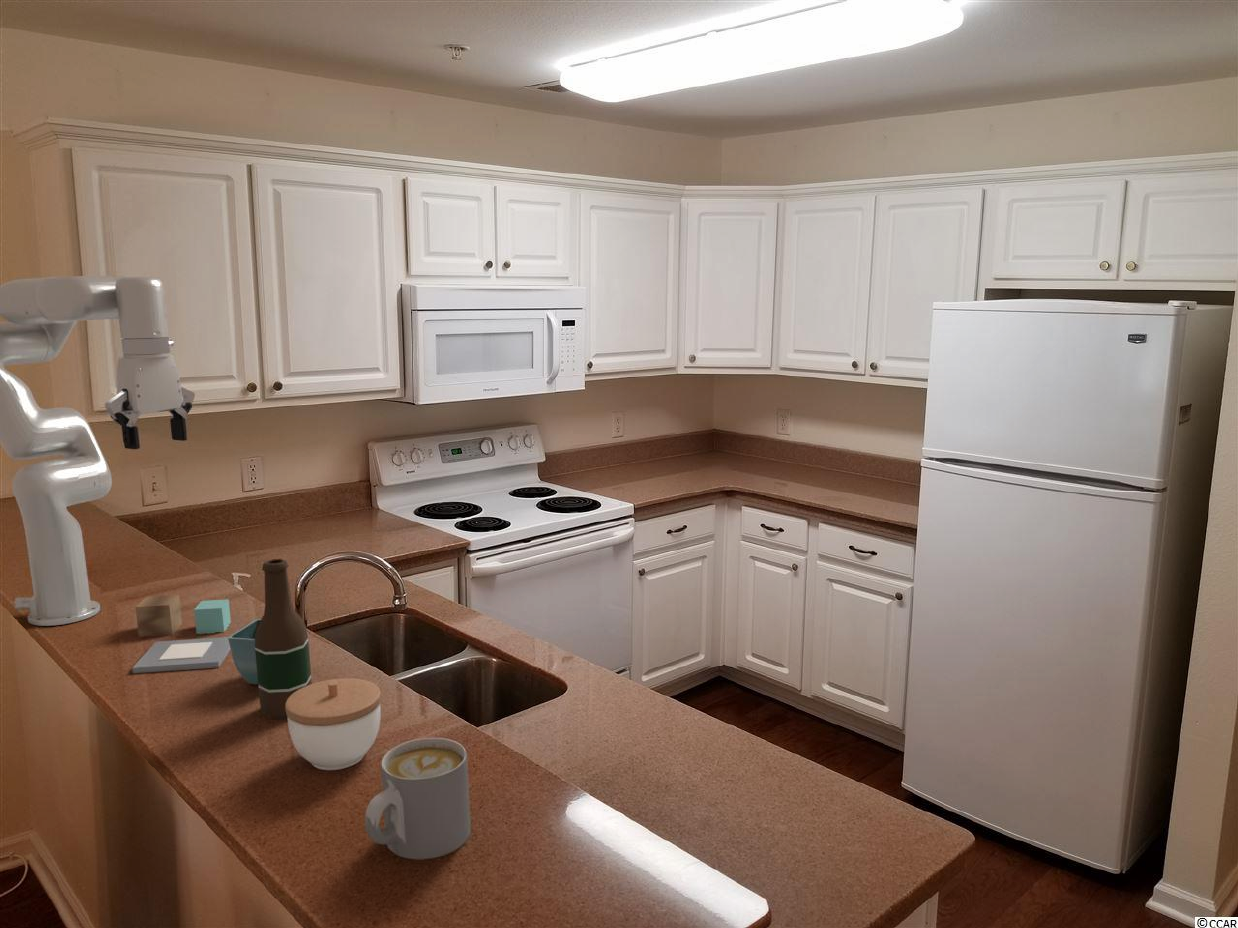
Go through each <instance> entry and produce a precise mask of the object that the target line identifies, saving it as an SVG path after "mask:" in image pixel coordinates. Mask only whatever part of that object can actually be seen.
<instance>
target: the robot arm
mask: <svg viewBox="0 0 1238 928" xmlns="http://www.w3.org/2000/svg"><path fill="white" fill-rule="evenodd" d="M0 317H1V318H3V319H4V320H6V321H0V445H1V446H2V448H3V451H4V452H5V453H6V455H7V456H9V458H11V459H13V460H17V461H28V460H34V459H36V460H37V459H40V458H49V457H53V456H59V455H62V458H57V459H56V458H55V459H50V460H45V461H44V460H43V461H40V462H35V463H32V464H27V465H26V466H24V467H22V468H20V470H18V471H17V472H16V473H15V474H14V477H13V479H12V490H13V492H12V493H13V495H14V497H15V499H16V500H15V501H16V503H17V505H18V508H19V511H20V516H21V518H22V524H23V528H24V532H25V541H26V542H25V543H26V546H27V555H28V562H29V570H30V577H31V583H32V584H31V585H32V590H33V595H32V596H31V597H16V598H14V602H13V605H14V609H15V610H16V611H22V610H23V611H24V610H28V611H30V612H29V613H28V614H27V622H28V623H29V624H31V625H34V626H38V627H39V626H40V627H50V626H60V625H67V624H72V623H76V622H77V623H78V622H80V621H84V620H87V619H89V618H92V617H93V616H95V615H97V614H98V613H99V612H100V611H101V606H100V603H99V602H97V601H95V600H91V594H90V587H89V586H90V585H89V577H88V569H87V564H86V563H87V562H86V555H85V549H84V548H85V547H84V546H85V545H84V539H83V531H82V528H81V525H80V522H78V520H77V519H76V518H75V517H74V516H73V514H71V513H70V512H69V510H68V509H67V507H70V506H73V505H79V504H82V503H88V502H92V501H95V500H99V499H102V498H103V497H105V496H107V495H108V494H109V492H110V491H111V488H112V487H113V485H112V484H113V479H112V472H111V469H110V467H109V464H108V462H107V459H106V458H105V456H104V454H103V452H102V449H101V448H100V445H99V442H98V441H97V438H96V437H95V434H94V432H93V430H92V428H91V426H90V423H89V422H88V420H87V419H86V418H85V416H84V415H82V414H81V412H80V411H78V410H76V409H74V408H72V407H65V406H63V407H62V406H61V407H60V406H59V407H49V408H42V407H40V406H39V405H38V403H37V402H36V400H35V398H34V395H33V393H32V391H31V389H30V387H29V386H28V385H27V384H26V383H25V382H24V381H23V380H22V379H20V378H19V377H18V376H16V375H15V374H14V373H11V372H10V371H8V370H7V369H6V368H5V366H14V365H15V366H17V365H29V364H30V365H31V364H39V363H40V364H41V363H47V362H49V361H52V360H54V359H55V358H56V357H57V356H58V355H59V354H60V353H61V351H62V350H63V347H65V343H66V342H67V340H68V339H69V337H70V334H71V333H72V331H73V329H74V327H75V326H76V324H77V322H78V321H79V322H80V321H83V322H84V321H93V320H94V321H96V320H98V321H100V320H118V323H119V330H120V339H121V342H120V343H121V350H122V357H118V362H117V368H116V395H115V396H113V397H111V399H109V400H108V401H106V402H105V403H104V408H105V409H106V410H107V412H108V414H109V415H110V419H112V420H113V421H115V422H116V423H117V425H118V426H119V427H121V433H122V434H121V435H122V441H123V444H124V447H123V448H125V449H128V450H139V449H140V448H141V446H140V445H141V444H140V443H141V442H140V435H139V434H140V433H139V427H138V426H136V425H135V424H136V422H137V421H138V419H139V417H140V415H149V414H155V413H162V412H168V413H169V414H170V415H171V416H172V418H170V419H169V421H170V432H171V439H172V440H173V441H179V442H180V441H181V442H183V441H187V440H188V436H187V425H186V419H188V417H189V412H190V411H192V410H191V409H192V408H193V403H194V400H195V396H196V394H195V392H193V391H191V390H189V389H187V388H185V387H182V385H181V380H180V379H181V378H180V374H179V371H178V366H177V363H176V361H175V357H174V354H171V348H174V345H175V344H174V341H173V340H172V339H170V338H169V336H170V335H169V327H168V318H167V317H168V316H167V306H166V298H165V289H164V284H163V282H162V280H161V279H159V278H157V277H153V276H124V275H123V276H122V275H121V276H115V275H112V276H111V275H110V276H109V275H107V276H106V275H82V276H81V275H79V276H78V275H77V276H76V275H75V276H51V277H36V278H34V277H33V278H22V279H21V278H20V279H14V280H9V281H7V282H4V283H2V284H1V285H0Z"/></svg>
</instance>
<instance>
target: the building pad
mask: <svg viewBox="0 0 1238 928" xmlns="http://www.w3.org/2000/svg"><path fill="white" fill-rule="evenodd" d="M228 637H229V636H227V637H225V636H224V637H223V636H222V637H210V638H209V637H208V638H205V637H204V638H196V639H195V638H193V639H176V640H161V641H155V642H154V643H153V644H152V645H151V646H150V647H149V649H148V650H147V651H146V652H145V653H144V654H143V655H142V657H141V658H140V659H139V660H138V661H137V662H136V663H135V664H134V665H133V667H132V673H133V674H143V673H156V672H158V673H159V672H170V671H184V670H187V671H188V670H197V669H199V670H200V669H201V670H202V669H215V668H217V669H218V668H220V666H221V665H222V664H223V662H224V661H225V659H226V658H227V656H228V655H229V653H230V652H231V648H230V644H229V640H228ZM229 651H230V652H229Z"/></svg>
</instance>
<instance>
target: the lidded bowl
mask: <svg viewBox="0 0 1238 928" xmlns="http://www.w3.org/2000/svg"><path fill="white" fill-rule="evenodd" d="M381 701H382V693H381V689H380V687H379V686H378V685H376V683H374V682H371V681H369V680H366V679H362V678H361V679H360V678H352V677H351V678H349V677H347V678H344V677H343V678H333V679H327V680H321V681H317V682H314V683H312V684H311V685H308V686H305V687H303V688H301V689H299V690H297V691H296V692H294V693H293V694H292V695H291V696H290V697H289V698H288V699H287V701H286V705H285V708H286V714H287V718H288V719H287V726H288V732H289V735H290V739H291V741H292V744H293V746H294V748H295V749H296V751H297V752H298V754H300V756H301V757H302V758H303V759H305V760H306V761H308V762H309V763H311V765H312V766H313V767H314V768H315V769H319V770H322V771H338V770H343V769H346V768H347V769H348V768H350V767H352V766H354V765H357V764H358V763H360V762H361V761H362V760H363V759H364V757H365V755H366V754H367V752H369V750H370V749H371V747H372V746H373V745H374V743H375V741H376V740H377V736H378V734H379V729H380V725H381V715H382V712H381V711H382V709H381V708H382V707H381Z"/></svg>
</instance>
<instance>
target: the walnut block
mask: <svg viewBox="0 0 1238 928" xmlns="http://www.w3.org/2000/svg"><path fill="white" fill-rule="evenodd" d="M180 599H181V598H180V595H179V594H174V595H173V594H172V595H171V594H170V595H155V596H145V598H144V599H142V600H141V601H140V602H139V603H138V604H137V605H136V606H135V614H136V624H137V632H138V637H139V638H142V637H158V636H172V635H174V634H175V632H176V631H178V629H179V628H180V627H181V626H182V625H183V619H182V610H181V609H182V608H181V600H180ZM180 625H181V626H180ZM179 626H180V627H179Z"/></svg>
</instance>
